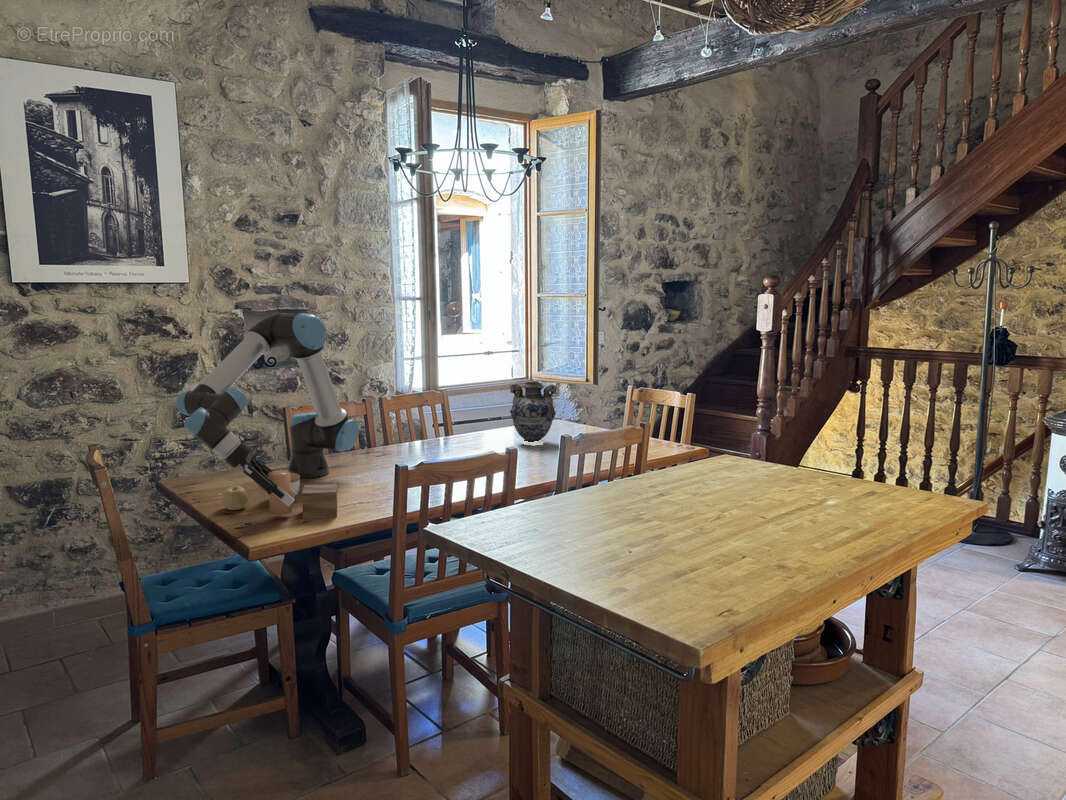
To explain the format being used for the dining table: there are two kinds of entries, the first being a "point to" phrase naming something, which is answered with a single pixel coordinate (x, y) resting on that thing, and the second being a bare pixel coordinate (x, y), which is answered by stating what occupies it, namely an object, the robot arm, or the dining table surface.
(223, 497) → the apple
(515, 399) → the decorative vase
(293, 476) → the lidded jar
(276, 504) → the dome-topped peach cylinder
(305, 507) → the walnut crate
